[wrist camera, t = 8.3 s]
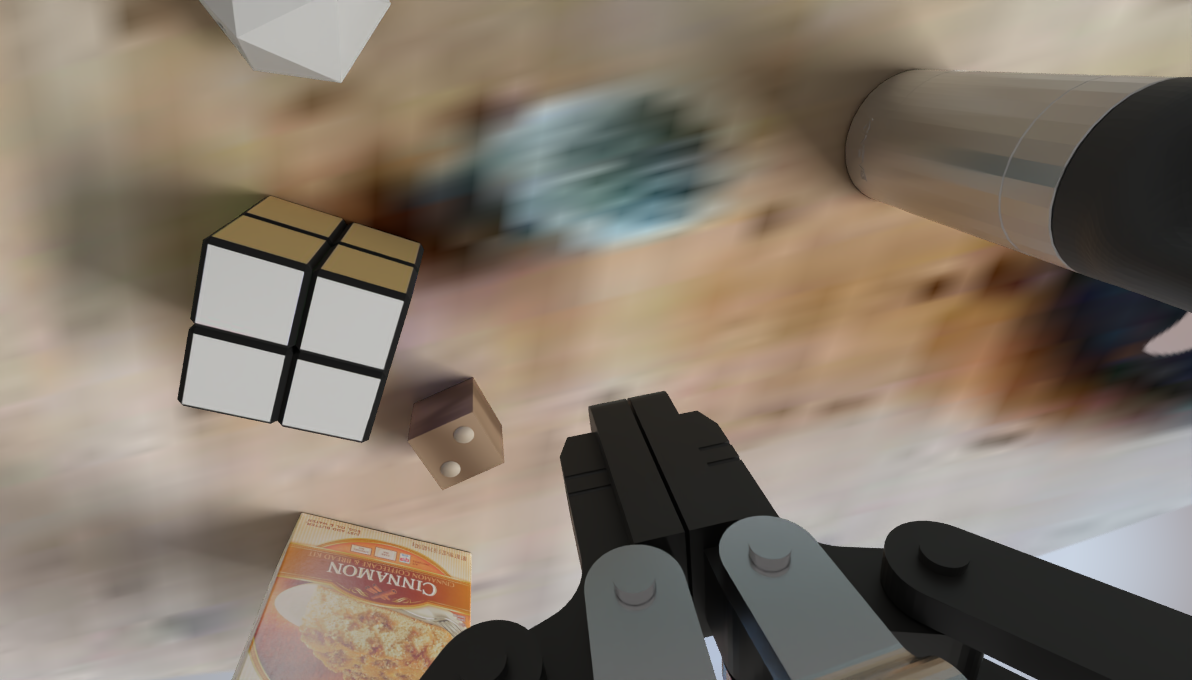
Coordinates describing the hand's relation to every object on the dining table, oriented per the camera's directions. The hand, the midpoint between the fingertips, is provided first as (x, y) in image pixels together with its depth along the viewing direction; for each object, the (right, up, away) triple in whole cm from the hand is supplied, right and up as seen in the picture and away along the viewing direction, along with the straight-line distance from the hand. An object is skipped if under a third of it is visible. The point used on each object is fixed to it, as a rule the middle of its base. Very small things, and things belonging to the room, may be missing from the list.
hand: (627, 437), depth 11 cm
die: (-17, +21, +21) cm, 35 cm away
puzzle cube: (-19, +6, +29) cm, 35 cm away
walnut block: (-11, -4, +35) cm, 37 cm away
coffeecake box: (-20, -17, +40) cm, 48 cm away
